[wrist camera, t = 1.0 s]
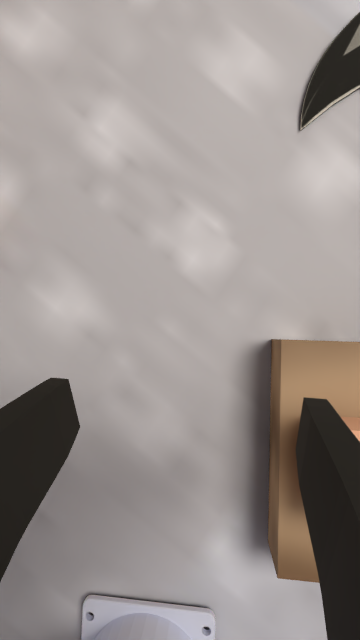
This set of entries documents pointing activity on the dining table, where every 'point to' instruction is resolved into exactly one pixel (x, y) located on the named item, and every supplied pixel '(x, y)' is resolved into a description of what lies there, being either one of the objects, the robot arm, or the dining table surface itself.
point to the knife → (334, 73)
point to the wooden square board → (285, 411)
